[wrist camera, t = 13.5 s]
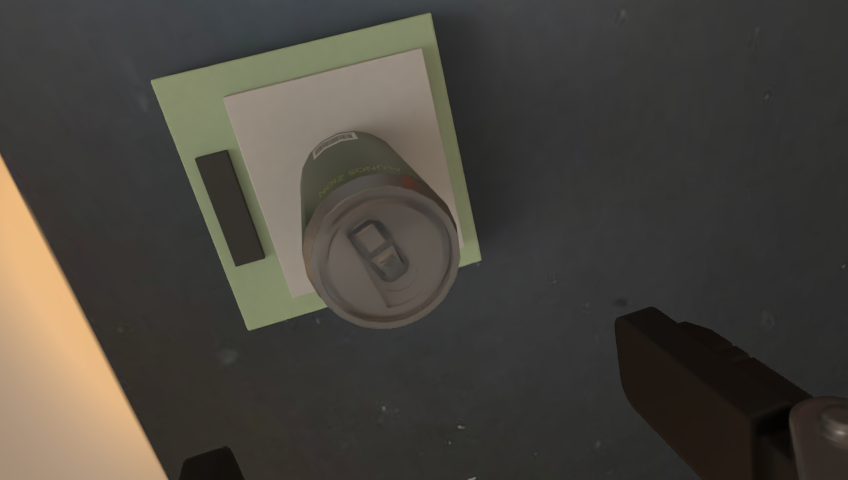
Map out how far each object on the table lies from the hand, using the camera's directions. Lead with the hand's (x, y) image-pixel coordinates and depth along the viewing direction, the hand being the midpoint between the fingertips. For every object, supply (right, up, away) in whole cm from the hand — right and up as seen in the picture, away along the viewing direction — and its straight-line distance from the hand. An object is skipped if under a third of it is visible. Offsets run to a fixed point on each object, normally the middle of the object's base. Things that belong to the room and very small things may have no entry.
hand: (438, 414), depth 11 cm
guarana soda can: (-4, +7, +18) cm, 20 cm away
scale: (-6, +8, +22) cm, 24 cm away
